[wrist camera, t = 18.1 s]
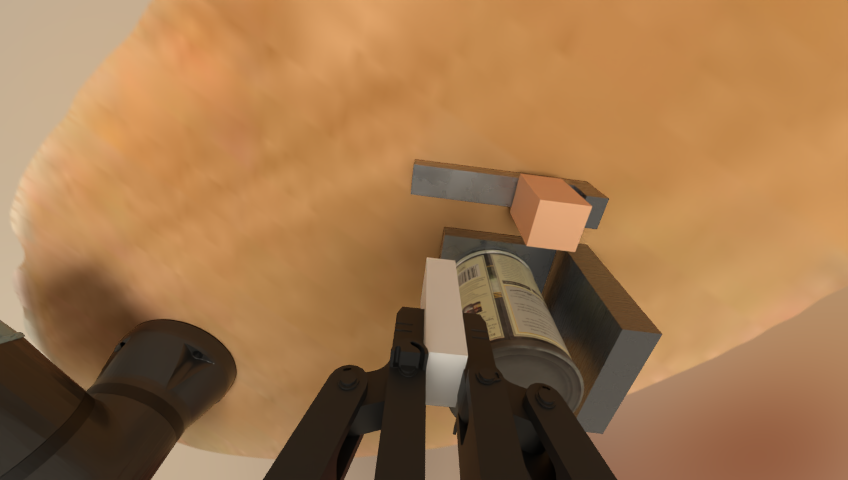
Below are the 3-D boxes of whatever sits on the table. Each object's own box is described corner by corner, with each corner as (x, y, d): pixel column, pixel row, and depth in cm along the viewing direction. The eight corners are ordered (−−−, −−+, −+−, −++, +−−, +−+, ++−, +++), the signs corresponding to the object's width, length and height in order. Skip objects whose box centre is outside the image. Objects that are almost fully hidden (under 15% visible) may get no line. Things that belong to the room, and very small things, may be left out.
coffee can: (506, 333, 41) (537, 451, 28) (429, 305, 39) (425, 417, 27) (553, 268, 36) (614, 374, 24) (468, 234, 35) (485, 328, 22)
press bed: (430, 312, 42) (427, 413, 30) (444, 226, 37) (447, 308, 24) (554, 326, 42) (602, 433, 30) (586, 244, 37) (662, 334, 25)
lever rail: (412, 187, 35) (408, 205, 30) (415, 159, 33) (411, 173, 29) (576, 208, 35) (596, 229, 31) (586, 181, 34) (609, 198, 29)
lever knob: (509, 212, 33) (526, 245, 27) (520, 173, 31) (540, 199, 25) (549, 217, 33) (575, 252, 27) (561, 179, 31) (592, 206, 25)
